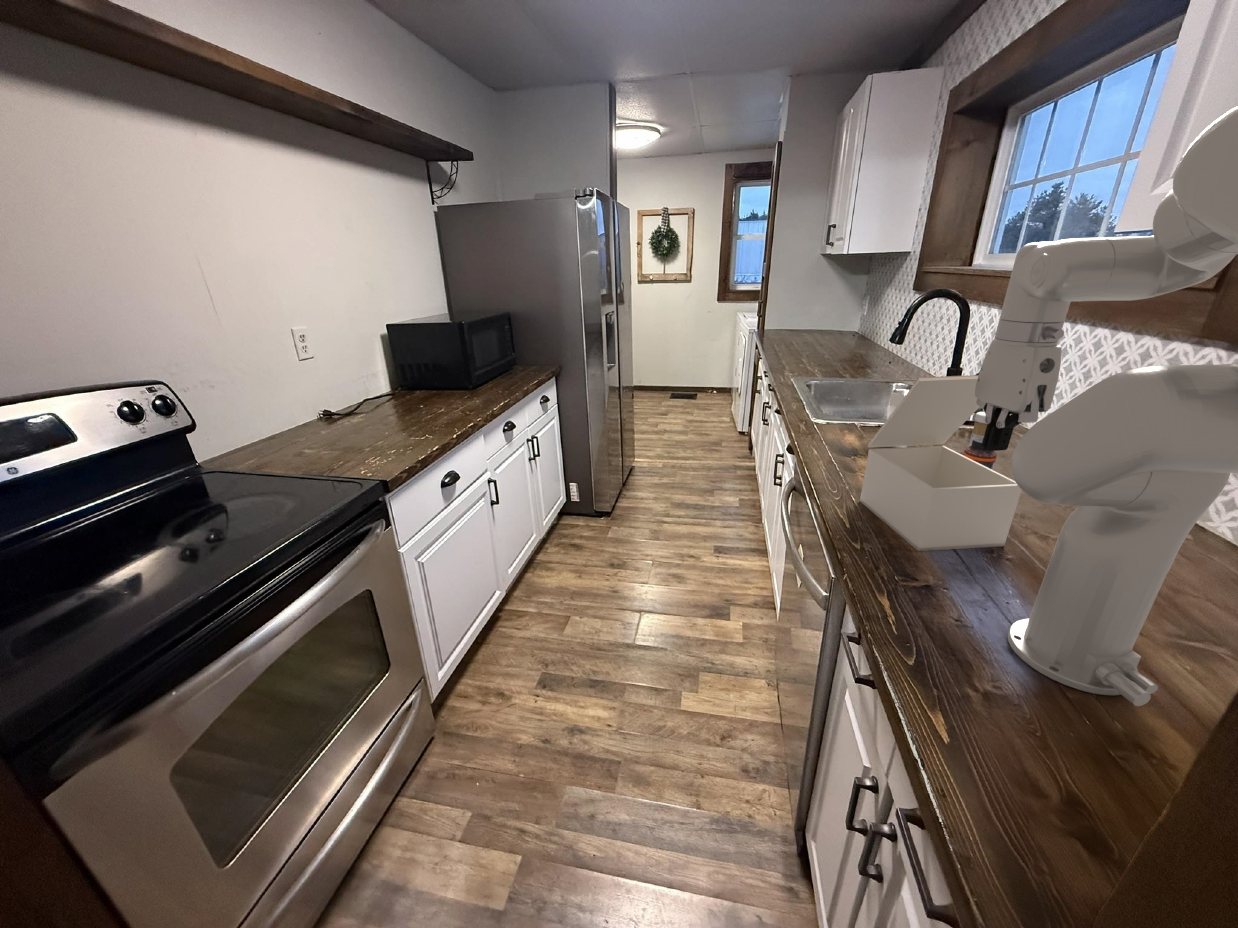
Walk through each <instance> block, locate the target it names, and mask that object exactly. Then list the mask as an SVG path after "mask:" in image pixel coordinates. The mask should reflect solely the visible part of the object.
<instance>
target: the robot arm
mask: <svg viewBox="0 0 1238 928" xmlns="http://www.w3.org/2000/svg"><path fill="white" fill-rule="evenodd" d="M1174 172H1175V173H1174V176H1173V180H1172V189H1171V190H1170V191H1169V192H1168V193H1167V194H1166V195H1165V197H1163V199H1162V200H1161V201H1160V203H1159V204H1158V206H1157V209H1156V210H1155V213H1154V216H1153V220H1152V234H1153V235H1150V236H1148V235H1146V236H1145V235H1144V236H1143V235H1142V236H1134V235H1133V236H1107V237H1106V236H1105V237H1083V238H1082V237H1081V238H1079V237H1078V238H1065V239H1059V240H1057V241H1056V240H1055V241H1054V240H1053V241H1039V242H1038V241H1037V242H1036V241H1034V242H1029V243H1026V244H1025V245H1023V246H1022V247H1021V248H1019V250H1018V251H1017V253H1016V256H1015V260H1014V263H1013V266H1012V271H1011V273H1010V274H1011V275H1010V278H1009V282H1008V286H1007V289H1006V293H1005V296H1004V300H1003V305H1002V309H1001V310H1000V311H1001V312H1000V315H999V319H998V323H997V327H996V330H995V334H994V338H993V339H992V341H991V342H990V345H989V346H988V349H987V351H986V353H985V356H984V358H983V361H982V364H981V367H980V370H979V373H978V375H979V376H978V379H977V383H976V388H975V396H976V397H977V398H978V399H977V401H976V403H977V405H979V406H980V407H979V408H981V409H982V410H983V412H985V414H986V416H985V422H986V423H987V427H986V431H985V434H984V438H983V441H982V445H981V447H983V448H985V449H987V450H989V451H995V452H996V451H1007V450H1008V448H1009V445H1010V442H1011V437H1012V435H1013V432H1014V429H1015V428H1018V427H1019V426H1020V424H1022V423H1023V424H1024V423H1025V424H1028V423H1029V424H1030V423H1033V425H1032V426H1031V427H1030V428H1029V429H1028V430H1027V431H1025V433H1024V434H1023V435H1022V437H1021V438H1020V439H1019V441H1018V443H1017V444H1016V446H1015V448H1014V451H1013V453H1012V457H1011V460H1010V461H1011V463H1010V464H1011V465H1010V466H1011V467H1010V468H1011V474H1012V475H1011V476H1012V478H1013V480H1014V481H1015V482H1016V484H1017V485H1018V486H1019V487H1020V489H1021V490H1022V491H1021V492H1023V493H1025V494H1026V495H1027V496H1029V497H1031V498H1032V499H1035V500H1037V501H1038V502H1042V503H1045V504H1050V505H1060V506H1061V505H1062V506H1077V507H1076V508H1075V509H1074V510H1073V511H1072V512H1071V513H1070V514H1069V516H1068V517H1067V519H1066V520H1065V522H1064V523H1063V526H1062V528H1061V530H1060V532H1059V535H1058V537H1057V540H1056V542H1055V546H1054V549H1053V551H1052V554H1051V556H1050V559H1049V561H1048V565H1047V568H1046V570H1045V573H1044V576H1043V580H1042V582H1041V584H1040V587H1039V590H1038V592H1037V596H1036V598H1035V601H1034V604H1033V607H1032V610H1031V612H1030V615H1029V618H1022V619H1019V620H1016V621H1014V622H1013V623H1012V624H1011V625H1010V626H1009V629H1008V633H1007V641H1008V643H1009V646H1010V647H1011V649H1012V650H1013V652H1014V653H1015V654H1016V655H1017V656H1018V657H1019V658H1020V659H1021V661H1023V662H1025V663H1026V664H1027V665H1029V666H1030V667H1031V668H1032V669H1034V670H1035V671H1036V672H1038V673H1040V674H1042V675H1044V676H1046V677H1048V678H1049V679H1050V680H1053V681H1055V682H1058V683H1060V684H1062V685H1064V686H1067V687H1070V688H1072V689H1075V690H1078V691H1083V692H1086V693H1090V694H1095V695H1103V696H1120V695H1121V696H1122V697H1123V698H1125V699H1126V700H1128V701H1129V702H1130V703H1131V704H1133V705H1134V706H1136V707H1142V706H1143V705H1144V706H1145V705H1146V704H1147V703H1148V702H1149V701H1151V697H1152V695H1151V694H1154V693H1155V692H1156V691H1158V688H1159V686H1158V685H1157V684H1156V683H1155V682H1153V681H1152V680H1150V679H1149V678H1147V677H1146V676H1144V675H1143V674H1141V673H1140V672H1139V669H1138V666H1139V665H1138V664H1139V662H1140V660H1141V659H1142V656H1141V655H1140V654H1138V653H1137V652H1136V651H1134V650H1133V649H1134V646H1135V643H1136V641H1137V640H1138V637H1139V636H1140V632H1141V631H1142V628H1143V626H1144V624H1145V622H1146V620H1147V617H1148V615H1149V613H1150V612H1151V609H1152V607H1153V605H1154V604H1155V603H1154V602H1155V601H1156V599H1157V596H1158V595H1159V591H1160V589H1161V588H1162V585H1163V583H1164V582H1165V580H1166V577H1167V574H1168V573H1169V571H1170V570H1171V567H1172V565H1173V563H1174V561H1175V560H1176V557H1177V555H1178V553H1179V551H1180V549H1181V547H1182V545H1183V544H1184V542H1185V540H1186V538H1187V537H1188V535H1189V534H1190V532H1191V530H1192V529H1193V527H1194V526H1195V524H1196V523H1198V521H1199V519H1200V518H1201V517H1202V516H1203V515H1204V514H1205V512H1206V511H1207V510H1208V509H1209V508H1210V507H1211V506H1212V505H1213V503H1214V502H1215V501H1216V500H1217V498H1218V497H1219V496H1220V494H1221V493H1222V491H1223V490H1224V489H1225V487H1226V485H1227V484H1228V481H1229V479H1230V476H1231V474H1238V362H1235V363H1233V362H1232V363H1220V364H1218V363H1217V364H1166V365H1165V364H1163V365H1150V366H1149V365H1147V366H1142V367H1136V368H1132V369H1128V370H1125V371H1121V372H1119V373H1116V374H1113V375H1110V376H1108V377H1106V378H1104V379H1102V380H1100V381H1098V382H1097V383H1096V384H1093V385H1092V386H1090V387H1089V388H1087V389H1086V390H1084V391H1083V392H1081V393H1079V394H1078V395H1077V396H1076V397H1074V398H1072V399H1070V400H1069V401H1067V402H1065V404H1063V405H1061V406H1059V408H1057V409H1056V410H1053V411H1052V412H1051V413H1049V414H1048V415H1046V416H1044V417H1043V418H1042V419H1040V420H1039V421H1038V419H1039V413H1044V412H1045V413H1046V412H1048V411H1049V410H1050V408H1051V405H1052V403H1053V400H1054V396H1055V393H1056V389H1057V385H1058V381H1059V375H1060V371H1061V364H1062V349H1063V348H1062V346H1061V345H1059V340H1060V339H1062V338H1063V337H1064V336H1065V331H1064V330H1063V327H1064V324H1065V321H1066V319H1067V314H1068V312H1069V308H1070V306H1071V303H1072V302H1099V301H1100V302H1102V301H1105V302H1108V301H1109V302H1111V301H1112V302H1113V301H1115V302H1116V301H1117V302H1118V301H1119V302H1120V301H1121V302H1123V301H1139V300H1145V299H1150V298H1155V297H1159V296H1163V295H1166V294H1169V293H1172V292H1176V291H1178V290H1183V289H1186V288H1189V287H1192V286H1195V285H1198V284H1202V283H1203V282H1205V281H1207V280H1210V279H1212V278H1213V277H1214V276H1215V275H1217V274H1218V273H1219V272H1221V271H1222V270H1223V269H1224V268H1225V267H1226V266H1228V264H1230V263H1231V262H1232V260H1233V259H1235V257H1236V256H1237V255H1238V105H1237V106H1236V107H1233V108H1231V109H1230V110H1228V111H1226V113H1224V114H1223V115H1221V116H1220V117H1218V118H1216V119H1215V120H1214V121H1213V122H1212V123H1211V124H1210V125H1208V126H1207V127H1205V128H1204V130H1202V132H1201V133H1199V135H1198V136H1196V138H1195V139H1194V140H1193V141H1192V142H1191V143H1190V144H1189V146H1188V148H1187V149H1186V151H1185V152H1184V154H1183V155H1182V157H1181V158H1180V160H1179V162H1178V164H1177V166H1176V168H1175V171H1174ZM1037 421H1038V422H1037ZM1034 423H1035V424H1034Z"/></svg>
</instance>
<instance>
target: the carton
mask: <svg viewBox="0 0 1238 928" xmlns="http://www.w3.org/2000/svg"><path fill="white" fill-rule="evenodd" d="M865 464H866V465H865V470H864V476H863V480H862V486H861V493H860V499H859V502H860V503H861V504H862V505H863V506H864V507H866V508H867V509H868V510H869V511H870V512H871V513H873V514H874V515H875V516H876V517H877V518H879V519H880V520H881V521H882V522H883V523H884V524H886V526H889V528H890V529H891V530H893V531H894V532H895V533H896V534H897V535H898V536H900V537H901V538H903V540H905V541H906V542H907V543H908V544H909V545H910V546H911V547H913V548H914V549H915V550H917V551H918V552H925V551H939V550H940V551H943V550H960V549H962V550H963V549H977V548H978V549H979V548H994V547H995V548H996V547H997V548H998V547H999V548H1000V547H1005V545H1006V541H1007V540H1008V539H1007V538H1008V535H1009V532H1010V529H1011V526H1012V523H1013V520H1014V518H1015V517H1014V516H1015V513H1016V509H1017V507H1018V503H1019V500H1020V496H1021V494H1022V492H1023V491H1022V490H1021V489H1020V487H1019V486H1018V485H1017V484H1016V482H1015V480H1014V479H1012V478H1010V477H1009V476H1008V477H1007V476H1006V475H1003V474H1002V473H999V472H998V471H995V470H994V469H993V470H992V469H990V468H988V467H986V466H984V465H982V464H980V463H978V462H976V461H974V460H972V459H969V458H967V457H965V456H963V454H961V453H959V452H957V451H956V450H953V449H952V448H949V447H947V446H945V445H924V446H907V447H903V448H893V447H880V448H869V449H868V453H867V459H866V463H865Z"/></svg>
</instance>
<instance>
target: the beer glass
mask: <svg viewBox="0 0 1238 928" xmlns="http://www.w3.org/2000/svg"><path fill="white" fill-rule="evenodd" d="M909 390H910V389H904V388H902V389H901V388H899V389H897V388H896V389H893V390H892V391H891V395H890V398H889V402H888V406H887V407H888V408H887V419H888V418H889V416H890V415H891V414H892V413H893V411H894V410H895V409H896V407H897V406H898V405H899V403H900V402H901V401H902V399H903V398H904V397H905V396H906V394H907V393H908V392H909ZM903 447H908V446H893V447H892V448H903Z"/></svg>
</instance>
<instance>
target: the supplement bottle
mask: <svg viewBox="0 0 1238 928" xmlns="http://www.w3.org/2000/svg"><path fill="white" fill-rule="evenodd" d="M982 441H983V438H974V439H973V441H972V445H971V446H970V447H968V446H967V447H966V448H965V449H964V451H963V454H962V455H963V456H965V457H967V458H969V459H972V460H974V461H976V462H978V463H980V464H982V465H984V466H986V467H988V468H990V469H992V470H994V467H995V464H996V459H997V458H998V457H997V456H998V455H997V452H996V451H989V450H987V449H985V448H983V447H981V445H982Z"/></svg>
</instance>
